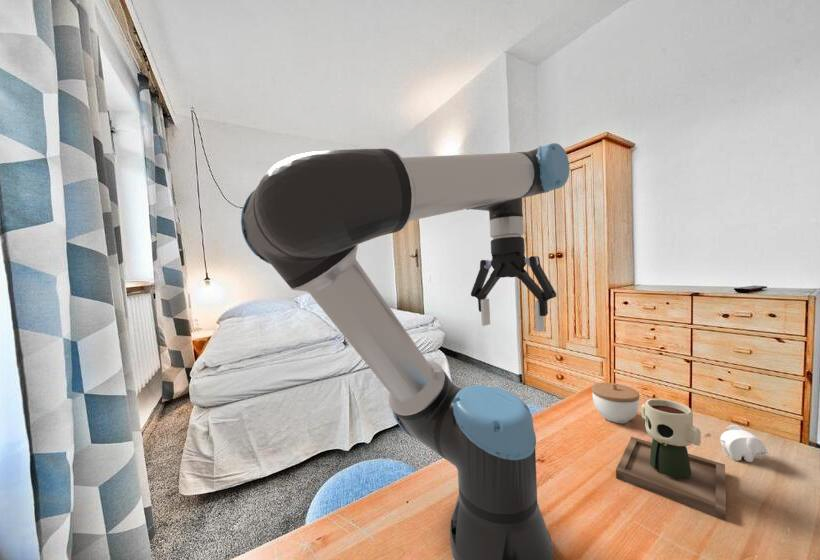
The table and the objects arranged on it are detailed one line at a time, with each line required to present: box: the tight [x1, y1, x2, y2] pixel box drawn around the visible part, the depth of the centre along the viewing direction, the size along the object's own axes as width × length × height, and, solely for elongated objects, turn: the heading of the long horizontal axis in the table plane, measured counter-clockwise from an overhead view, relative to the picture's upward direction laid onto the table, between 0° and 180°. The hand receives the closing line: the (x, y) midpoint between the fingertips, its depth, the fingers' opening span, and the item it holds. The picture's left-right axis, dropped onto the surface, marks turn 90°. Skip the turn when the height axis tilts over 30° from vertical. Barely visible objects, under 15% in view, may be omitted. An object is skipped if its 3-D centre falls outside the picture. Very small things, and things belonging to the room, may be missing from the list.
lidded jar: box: [591, 382, 640, 424], centre depth 81 cm, size 11×11×9 cm
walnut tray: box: [615, 436, 727, 522], centre depth 59 cm, size 15×15×2 cm
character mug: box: [640, 398, 702, 478], centre depth 59 cm, size 11×7×13 cm, turn 10°
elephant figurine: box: [716, 424, 770, 463], centre depth 63 cm, size 7×8×6 cm
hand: (511, 327), depth 70 cm, fingers open, 13 cm apart
